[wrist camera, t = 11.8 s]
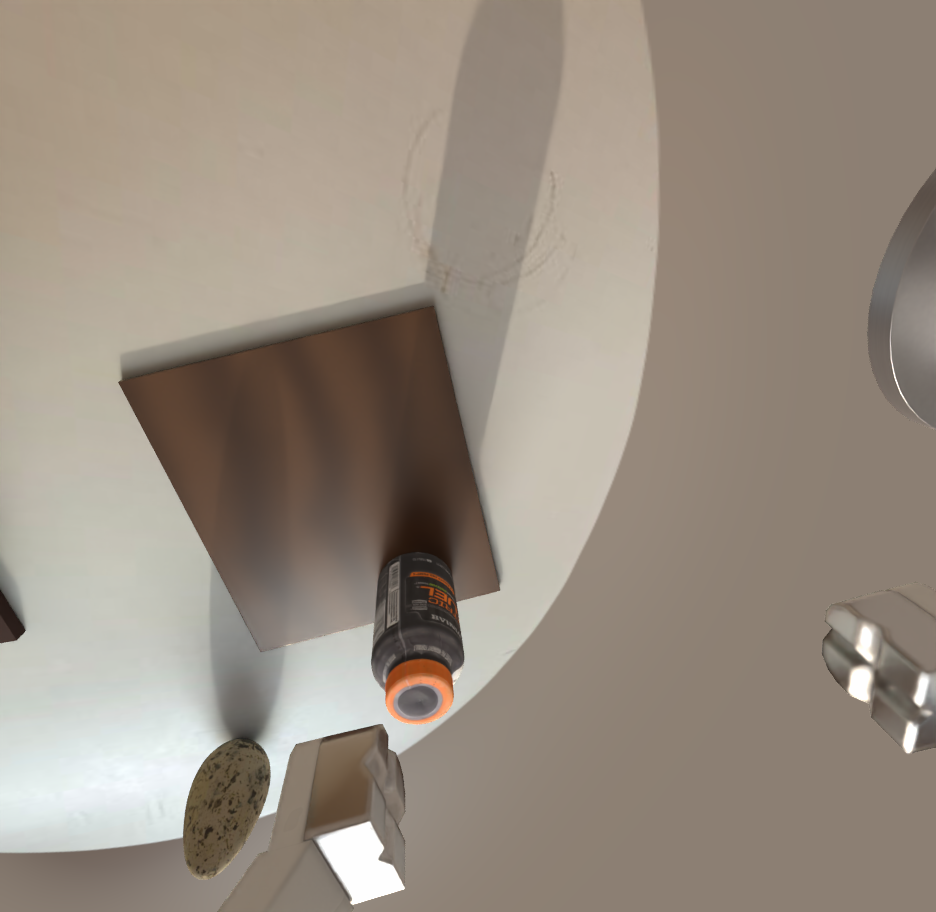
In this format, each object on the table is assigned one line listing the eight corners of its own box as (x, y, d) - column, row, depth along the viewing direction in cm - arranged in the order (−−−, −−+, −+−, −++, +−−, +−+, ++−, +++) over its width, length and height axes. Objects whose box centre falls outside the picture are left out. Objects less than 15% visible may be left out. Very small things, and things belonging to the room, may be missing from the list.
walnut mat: (433, 305, 31) (433, 306, 31) (499, 587, 40) (500, 590, 40) (120, 380, 30) (117, 382, 30) (261, 648, 40) (260, 652, 39)
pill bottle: (468, 576, 39) (492, 694, 29) (419, 622, 40) (425, 752, 30) (411, 535, 37) (414, 648, 27) (361, 586, 38) (346, 712, 28)
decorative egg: (241, 711, 42) (197, 839, 33) (293, 743, 44) (265, 872, 35) (193, 747, 43) (138, 881, 34) (246, 776, 45) (208, 910, 36)
